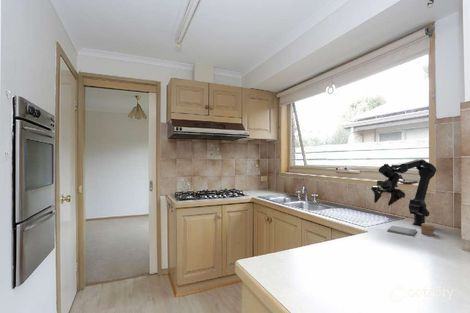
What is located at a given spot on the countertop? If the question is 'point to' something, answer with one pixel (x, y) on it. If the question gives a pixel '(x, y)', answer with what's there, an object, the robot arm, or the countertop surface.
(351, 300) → the countertop surface
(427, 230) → the walnut block
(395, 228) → the slate coaster
